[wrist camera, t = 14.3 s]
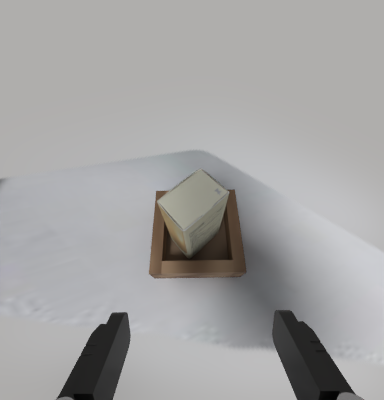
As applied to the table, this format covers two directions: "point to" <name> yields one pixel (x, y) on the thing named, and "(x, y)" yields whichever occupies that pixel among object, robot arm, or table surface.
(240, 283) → the table surface
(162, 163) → the table surface
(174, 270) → the block
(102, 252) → the table surface
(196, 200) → the skincare box
